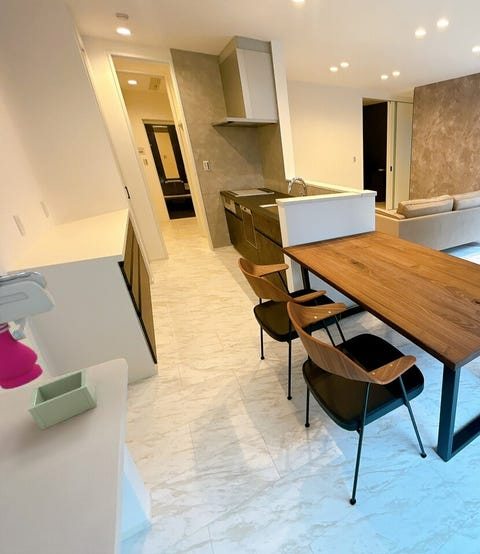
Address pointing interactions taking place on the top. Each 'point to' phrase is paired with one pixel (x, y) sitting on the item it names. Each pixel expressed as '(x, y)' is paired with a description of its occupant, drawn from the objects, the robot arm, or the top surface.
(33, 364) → the pepper mill
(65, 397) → the holder
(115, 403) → the top surface
